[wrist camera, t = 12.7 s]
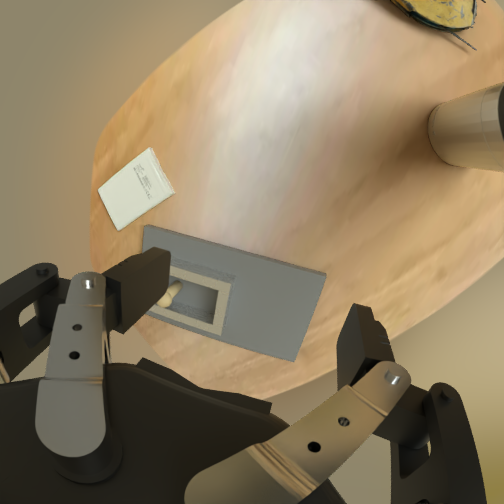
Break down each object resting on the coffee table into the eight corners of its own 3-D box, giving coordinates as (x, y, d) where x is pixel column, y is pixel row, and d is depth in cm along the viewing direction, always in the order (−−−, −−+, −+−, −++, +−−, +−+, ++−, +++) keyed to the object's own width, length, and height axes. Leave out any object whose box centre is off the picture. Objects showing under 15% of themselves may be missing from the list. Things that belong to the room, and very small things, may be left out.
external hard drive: (102, 188, 43) (153, 147, 39) (123, 229, 45) (177, 192, 41) (96, 189, 42) (147, 147, 38) (117, 231, 43) (172, 194, 39)
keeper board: (326, 273, 39) (328, 297, 33) (294, 357, 45) (290, 388, 38) (148, 224, 43) (120, 236, 36) (143, 308, 48) (121, 329, 42)
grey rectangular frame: (236, 275, 41) (230, 284, 38) (226, 325, 44) (220, 335, 41) (157, 251, 43) (147, 258, 40) (154, 300, 46) (145, 308, 43)
